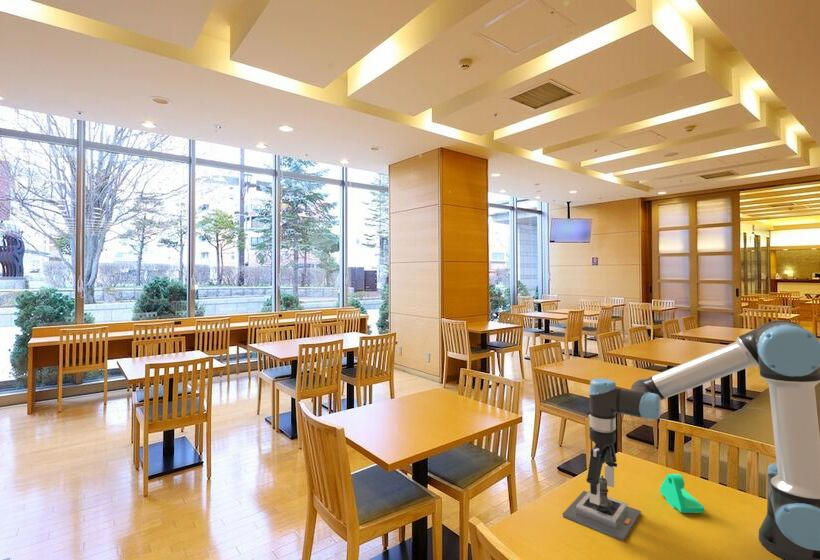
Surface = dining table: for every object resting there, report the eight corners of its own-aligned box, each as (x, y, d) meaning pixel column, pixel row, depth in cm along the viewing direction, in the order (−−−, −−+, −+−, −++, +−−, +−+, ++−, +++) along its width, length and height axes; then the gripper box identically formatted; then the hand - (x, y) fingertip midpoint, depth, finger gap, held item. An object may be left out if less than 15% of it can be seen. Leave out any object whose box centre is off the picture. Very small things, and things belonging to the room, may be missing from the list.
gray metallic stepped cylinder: (610, 520, 128) (611, 481, 128) (590, 513, 132) (590, 476, 131) (613, 510, 133) (613, 473, 133) (593, 504, 136) (593, 469, 136)
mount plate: (640, 514, 133) (640, 503, 133) (623, 541, 120) (623, 529, 120) (583, 493, 145) (583, 483, 145) (562, 516, 132) (562, 505, 132)
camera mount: (705, 516, 132) (706, 484, 131) (681, 515, 132) (681, 484, 132) (682, 495, 144) (682, 466, 143) (659, 495, 144) (660, 466, 144)
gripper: (603, 415, 143) (603, 475, 144) (575, 437, 125) (575, 506, 126) (626, 420, 138) (626, 482, 139) (601, 444, 120) (601, 516, 120)
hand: (602, 494), depth 132 cm, fingers open, 13 cm apart
